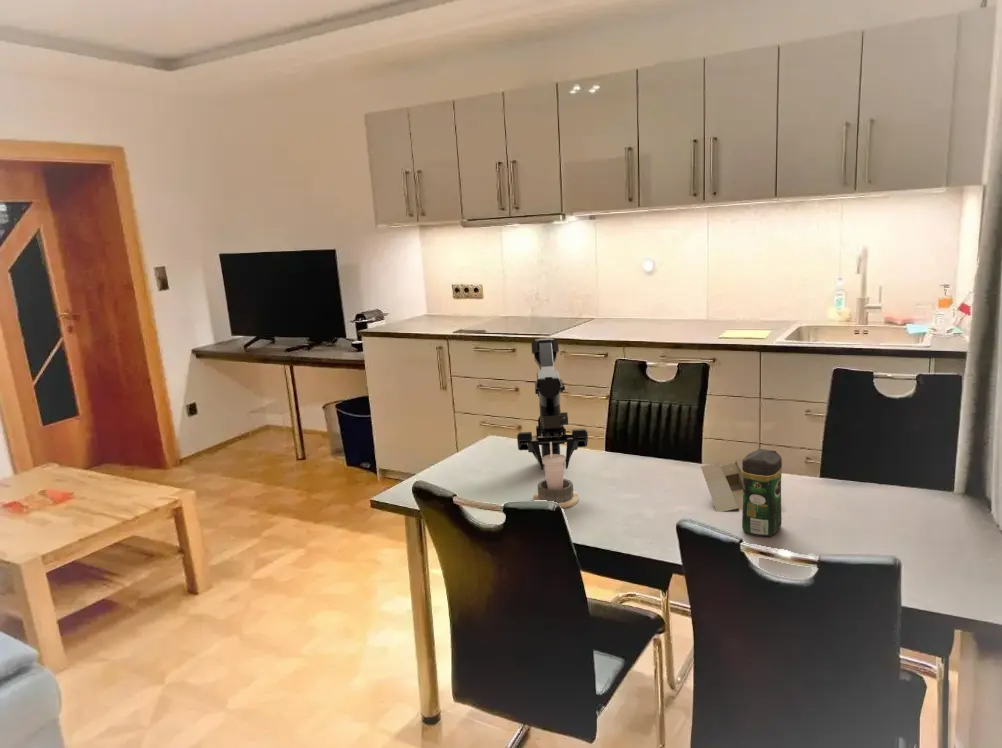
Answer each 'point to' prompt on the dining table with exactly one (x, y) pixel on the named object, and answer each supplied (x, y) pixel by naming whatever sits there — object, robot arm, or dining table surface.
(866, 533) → the dining table surface
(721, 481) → the open cardboard box
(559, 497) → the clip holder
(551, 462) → the smoothie
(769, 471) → the coffee jar
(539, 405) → the robot arm
